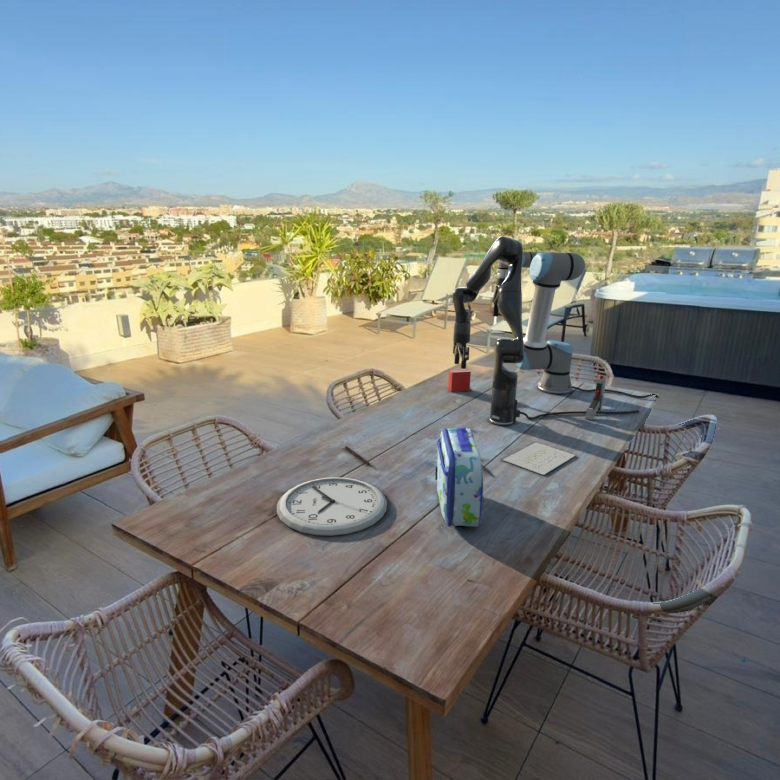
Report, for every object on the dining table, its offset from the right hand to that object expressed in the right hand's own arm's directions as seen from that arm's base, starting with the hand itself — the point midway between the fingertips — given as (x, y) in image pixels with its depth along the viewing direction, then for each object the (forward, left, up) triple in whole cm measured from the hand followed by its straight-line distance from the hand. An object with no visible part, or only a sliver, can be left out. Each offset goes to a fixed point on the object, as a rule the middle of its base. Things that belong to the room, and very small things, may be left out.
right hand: (501, 318), depth 277 cm
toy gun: (-21, +74, -28) cm, 82 cm away
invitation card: (+16, +115, -28) cm, 119 cm away
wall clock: (+84, +143, -28) cm, 168 cm away
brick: (+28, +39, -28) cm, 55 cm away
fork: (+38, +119, -28) cm, 128 cm away
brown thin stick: (+77, +112, -28) cm, 139 cm away
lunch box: (+50, +146, -28) cm, 157 cm away
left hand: (+29, +39, -16) cm, 51 cm away
